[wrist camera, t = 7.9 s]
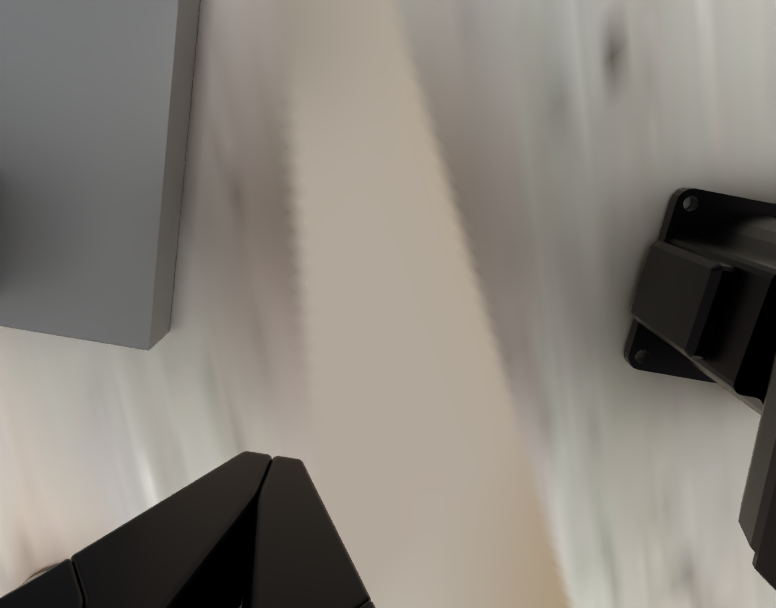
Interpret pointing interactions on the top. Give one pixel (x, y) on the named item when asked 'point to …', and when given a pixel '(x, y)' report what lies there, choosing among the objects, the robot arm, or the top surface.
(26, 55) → the grey stepped base
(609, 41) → the top surface
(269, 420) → the top surface
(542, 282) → the top surface
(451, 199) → the top surface
